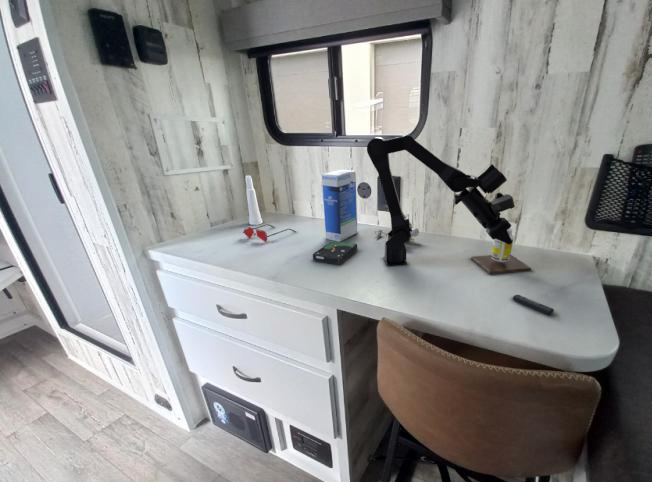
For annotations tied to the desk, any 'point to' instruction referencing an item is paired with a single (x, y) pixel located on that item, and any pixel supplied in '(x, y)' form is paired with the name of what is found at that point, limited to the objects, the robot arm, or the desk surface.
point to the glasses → (260, 232)
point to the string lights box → (340, 204)
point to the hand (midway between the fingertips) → (507, 240)
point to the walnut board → (500, 265)
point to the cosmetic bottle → (252, 203)
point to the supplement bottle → (502, 249)
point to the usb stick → (533, 304)
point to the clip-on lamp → (413, 233)
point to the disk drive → (335, 252)
